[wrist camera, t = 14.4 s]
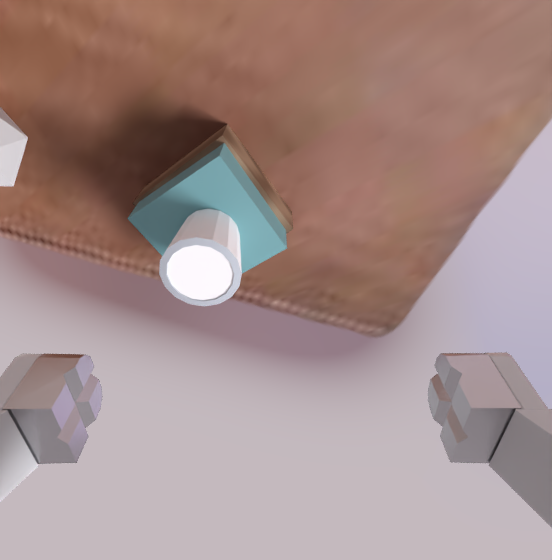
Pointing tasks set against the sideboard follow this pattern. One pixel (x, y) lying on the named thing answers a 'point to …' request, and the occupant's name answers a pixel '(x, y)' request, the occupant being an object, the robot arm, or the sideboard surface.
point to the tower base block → (245, 162)
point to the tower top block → (212, 207)
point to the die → (10, 149)
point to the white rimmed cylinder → (203, 259)
